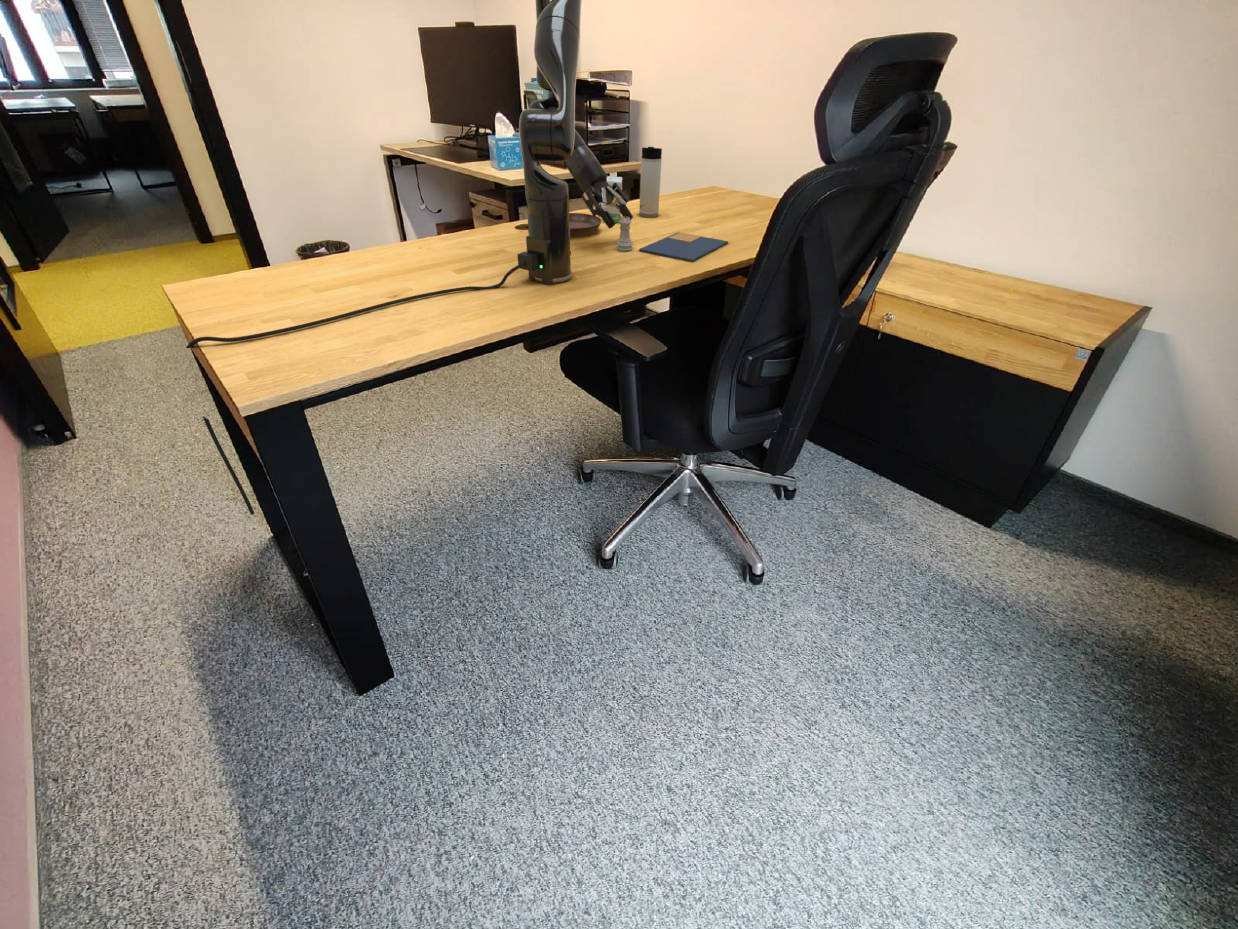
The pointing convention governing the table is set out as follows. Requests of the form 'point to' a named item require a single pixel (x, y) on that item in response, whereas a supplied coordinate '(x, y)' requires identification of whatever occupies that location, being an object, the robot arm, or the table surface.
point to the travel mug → (650, 181)
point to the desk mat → (684, 246)
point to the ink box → (613, 210)
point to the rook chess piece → (624, 235)
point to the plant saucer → (583, 224)
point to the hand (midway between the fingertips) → (621, 223)
